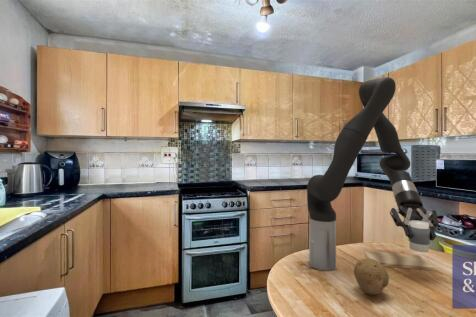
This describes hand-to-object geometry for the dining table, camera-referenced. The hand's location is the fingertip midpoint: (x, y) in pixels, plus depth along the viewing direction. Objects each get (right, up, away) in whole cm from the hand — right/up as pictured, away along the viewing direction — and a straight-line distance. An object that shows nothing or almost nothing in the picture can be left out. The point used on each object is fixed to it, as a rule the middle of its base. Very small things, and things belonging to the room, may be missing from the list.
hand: (421, 238), depth 79 cm
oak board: (+2, -14, +15) cm, 21 cm away
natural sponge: (-20, -14, -7) cm, 25 cm away
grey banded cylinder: (0, -4, +2) cm, 5 cm away
